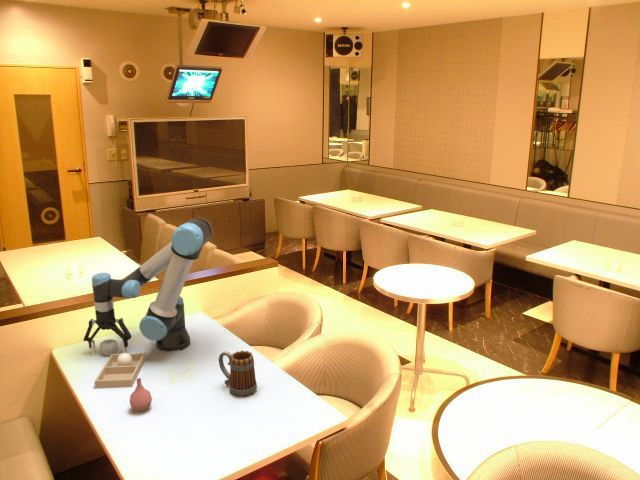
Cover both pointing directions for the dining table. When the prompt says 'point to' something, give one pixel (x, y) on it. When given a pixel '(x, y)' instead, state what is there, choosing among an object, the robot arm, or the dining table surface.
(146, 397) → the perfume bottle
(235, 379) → the mug
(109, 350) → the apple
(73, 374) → the dining table surface
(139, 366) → the wooden compartment tray
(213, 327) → the dining table surface
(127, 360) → the egg
